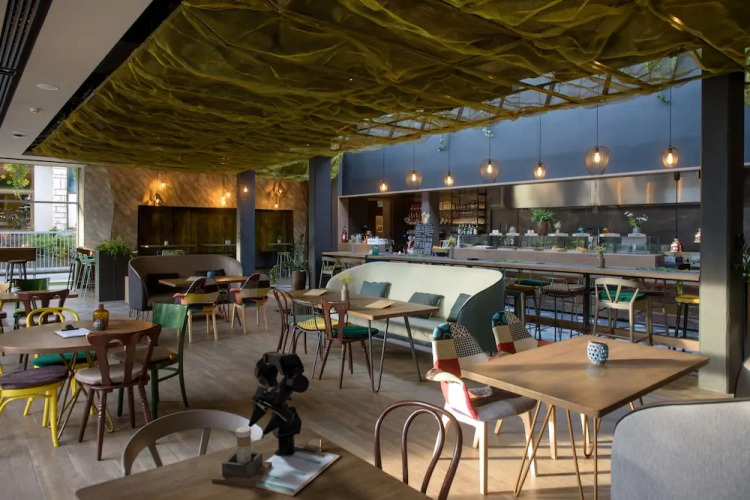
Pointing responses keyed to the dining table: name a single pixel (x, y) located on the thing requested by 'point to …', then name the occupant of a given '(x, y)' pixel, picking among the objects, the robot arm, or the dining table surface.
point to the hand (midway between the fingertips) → (256, 430)
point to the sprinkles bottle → (243, 445)
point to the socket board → (242, 470)
